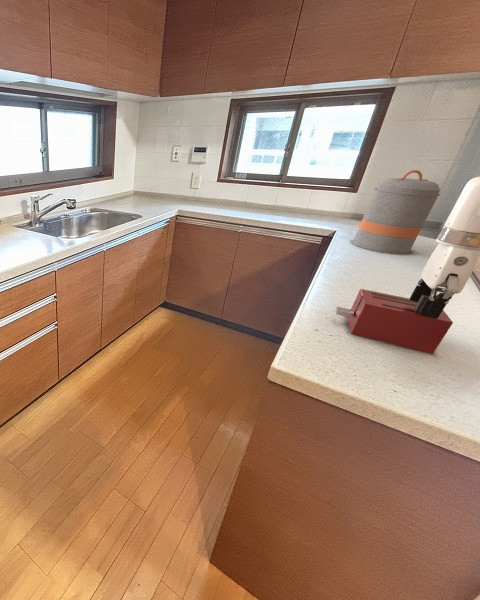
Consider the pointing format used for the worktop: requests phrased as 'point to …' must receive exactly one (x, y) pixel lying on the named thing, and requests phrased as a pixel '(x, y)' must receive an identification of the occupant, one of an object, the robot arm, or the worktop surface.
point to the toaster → (396, 322)
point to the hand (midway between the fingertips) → (422, 308)
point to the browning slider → (421, 303)
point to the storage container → (396, 214)
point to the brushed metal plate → (344, 312)
